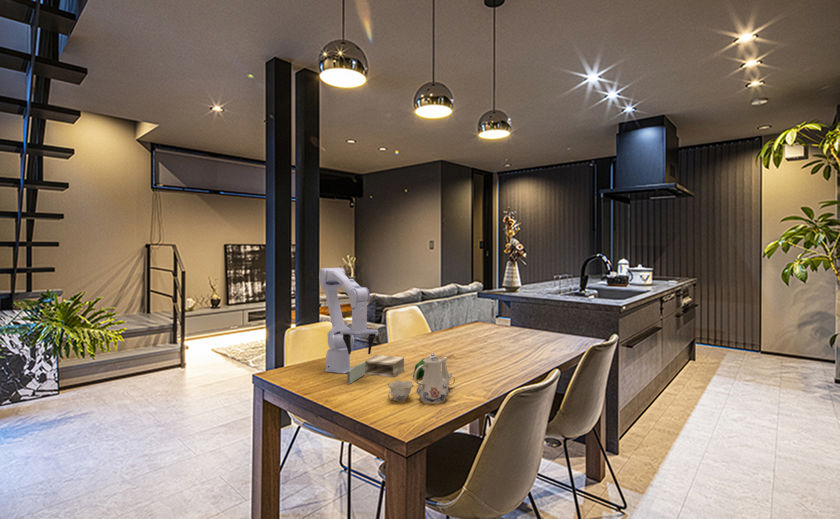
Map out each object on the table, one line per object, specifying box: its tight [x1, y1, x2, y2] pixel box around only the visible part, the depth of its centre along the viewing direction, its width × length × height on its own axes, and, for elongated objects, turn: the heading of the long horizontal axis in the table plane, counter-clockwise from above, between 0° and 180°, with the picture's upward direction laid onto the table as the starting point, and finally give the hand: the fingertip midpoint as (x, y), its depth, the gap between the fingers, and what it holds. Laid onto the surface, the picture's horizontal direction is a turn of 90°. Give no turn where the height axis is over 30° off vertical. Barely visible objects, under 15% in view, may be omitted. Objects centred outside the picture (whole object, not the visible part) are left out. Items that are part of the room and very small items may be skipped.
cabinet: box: [364, 354, 405, 378], centre depth 170 cm, size 13×10×6 cm
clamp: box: [412, 357, 426, 380], centre depth 165 cm, size 12×6×9 cm, turn 156°
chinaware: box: [387, 351, 456, 405], centre depth 142 cm, size 28×17×17 cm, turn 133°
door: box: [346, 361, 366, 385], centre depth 161 cm, size 14×1×5 cm, turn 161°
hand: (359, 353), depth 160 cm, fingers open, 7 cm apart
